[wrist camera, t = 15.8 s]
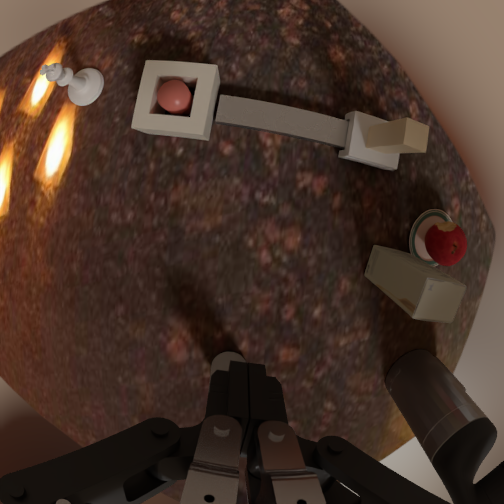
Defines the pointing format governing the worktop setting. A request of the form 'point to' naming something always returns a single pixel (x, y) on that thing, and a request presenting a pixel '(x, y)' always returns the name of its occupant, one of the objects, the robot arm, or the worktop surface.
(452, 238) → the apple
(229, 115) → the rail
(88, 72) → the chess piece
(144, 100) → the cream square box
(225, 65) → the worktop surface
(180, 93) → the button
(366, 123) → the carriage
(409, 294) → the skincare box
